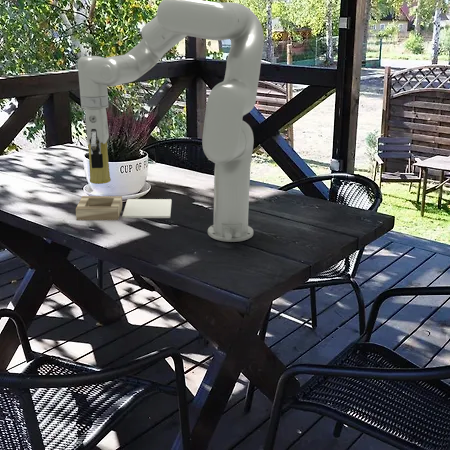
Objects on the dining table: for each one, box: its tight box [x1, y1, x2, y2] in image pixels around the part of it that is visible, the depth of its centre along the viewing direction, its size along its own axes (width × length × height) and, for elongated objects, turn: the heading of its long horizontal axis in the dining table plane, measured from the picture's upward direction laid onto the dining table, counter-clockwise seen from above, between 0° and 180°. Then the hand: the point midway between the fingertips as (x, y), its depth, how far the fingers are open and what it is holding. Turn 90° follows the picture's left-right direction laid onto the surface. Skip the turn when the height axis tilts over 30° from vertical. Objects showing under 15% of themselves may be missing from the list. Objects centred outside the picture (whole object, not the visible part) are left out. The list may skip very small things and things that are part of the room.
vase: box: [87, 139, 112, 185], centre depth 173 cm, size 6×6×14 cm
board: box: [121, 198, 173, 219], centre depth 184 cm, size 16×14×1 cm
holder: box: [75, 195, 123, 221], centre depth 179 cm, size 12×12×4 cm
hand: (99, 164), depth 174 cm, fingers closed on vase, 5 cm apart
